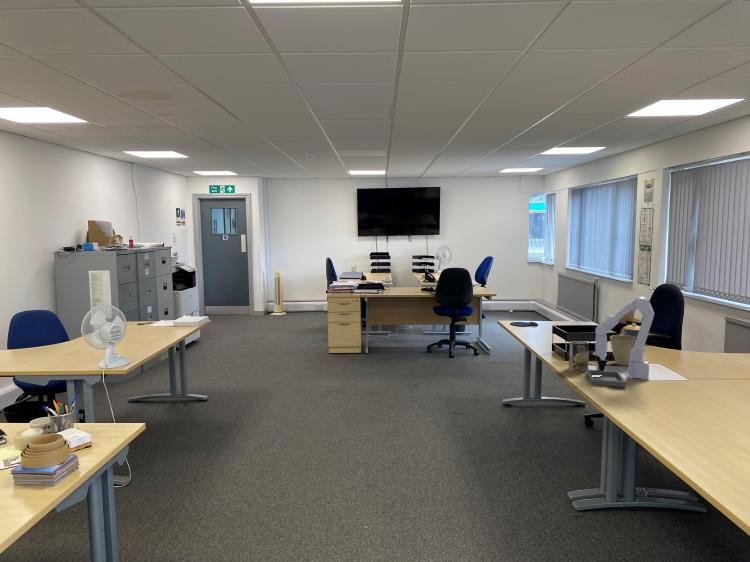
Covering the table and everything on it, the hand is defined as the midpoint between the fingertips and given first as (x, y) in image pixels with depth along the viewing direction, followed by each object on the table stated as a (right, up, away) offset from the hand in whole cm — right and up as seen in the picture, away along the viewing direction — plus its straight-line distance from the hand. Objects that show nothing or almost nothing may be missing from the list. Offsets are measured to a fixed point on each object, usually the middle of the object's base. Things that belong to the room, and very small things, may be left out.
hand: (600, 369), depth 268 cm
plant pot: (+21, 0, +16) cm, 26 cm away
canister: (+46, +4, +50) cm, 68 cm away
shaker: (0, -2, 0) cm, 2 cm away
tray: (-4, -3, -15) cm, 16 cm away
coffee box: (-10, -1, +6) cm, 12 cm away
